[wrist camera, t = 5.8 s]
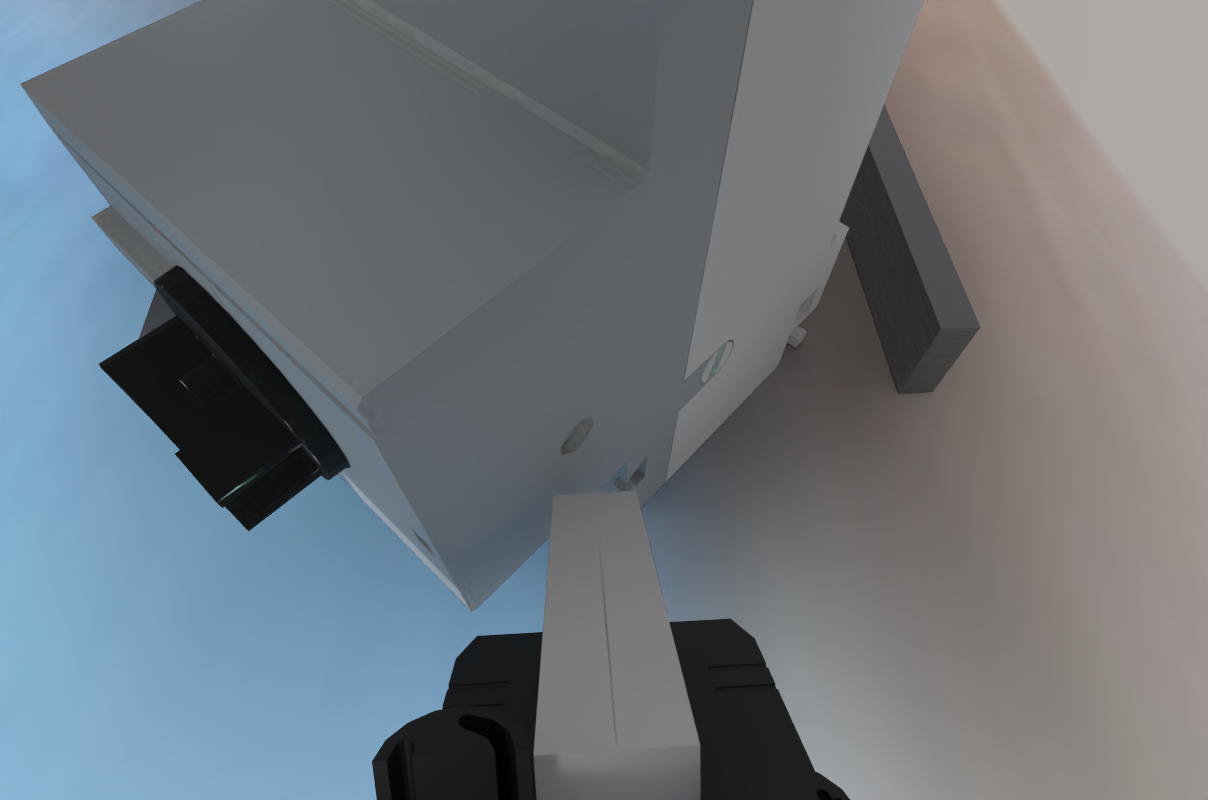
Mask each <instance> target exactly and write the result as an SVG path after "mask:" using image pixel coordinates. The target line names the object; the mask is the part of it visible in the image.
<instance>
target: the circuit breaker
mask: <svg viewBox="0 0 1208 800" xmlns="http://www.w3.org/2000/svg"><path fill="white" fill-rule="evenodd" d="M923 2H924V0H202V1H200V2H198V3H195V4H193V5H191V6H189V7H187V8H184V9H182V10H180V11H178V12H176V13H174V14H171V15H169V16H167V17H165V18H163V19H160V20H158V21H156V22H154V23H152V24H150V25H147V26H145V27H143V28H141V29H139V30H136V31H134V32H132V33H130V34H128V35H126V36H123V37H121V38H119V39H117V40H115V41H113V42H110V43H108V44H106V45H104V46H102V47H99V48H97V49H95V50H93V51H91V52H89V53H86V54H84V55H82V56H80V57H78V58H75V59H73V60H71V61H69V62H67V63H65V64H62V65H60V66H58V67H56V68H54V69H51V70H49V71H47V72H45V73H43V74H41V75H38V76H36V77H34V78H32V79H30V80H27V81H25V82H23V83H21V86H22V87H23V89H24V90H25V92H26V93H27V94H28V96H29V97H30V99H31V100H32V102H33V103H34V105H35V106H36V108H37V109H38V111H39V112H40V114H41V115H42V116H43V118H44V119H45V121H46V122H47V124H48V125H49V126H50V127H51V128H52V130H53V132H54V133H55V134H56V136H57V137H58V138H59V139H60V141H61V142H62V143H63V145H64V146H65V147H66V149H67V150H68V151H69V152H70V154H71V155H72V156H73V158H74V159H75V160H76V162H77V163H78V164H79V165H80V167H81V168H82V169H83V171H84V172H85V173H86V174H87V176H88V177H89V178H90V180H91V181H92V182H93V184H94V185H95V186H96V187H97V189H98V190H99V191H100V193H101V194H102V195H103V196H104V198H105V199H106V200H107V202H108V203H109V204H110V206H109V207H108V208H106V209H104V210H103V211H101V212H99V213H98V214H96V215H94V216H93V217H91V218H92V219H93V220H94V221H95V222H96V224H97V225H98V226H99V227H100V228H101V230H102V231H103V232H104V233H105V234H106V236H107V237H108V238H109V239H110V240H111V242H112V243H113V244H114V245H115V246H116V248H117V249H118V250H119V251H120V252H121V253H122V254H123V255H124V256H125V257H126V258H127V259H128V260H129V261H130V262H131V263H132V264H133V265H134V266H135V267H136V268H137V270H138V271H139V272H140V273H141V274H142V275H143V276H144V277H145V278H146V279H147V280H148V281H149V282H150V283H151V284H152V285H153V286H154V287H155V288H156V289H157V291H158V292H159V293H160V295H161V296H162V298H163V299H164V301H165V302H166V303H167V305H168V306H169V307H170V309H171V310H172V311H173V313H174V314H175V315H176V316H175V317H173V318H172V319H170V320H168V321H167V322H165V323H164V324H162V325H160V326H159V327H157V328H156V329H154V330H152V331H151V332H149V333H148V334H146V335H144V336H143V337H141V338H140V339H138V340H136V341H135V342H133V343H132V344H130V345H128V346H127V347H125V348H124V349H122V350H120V351H119V352H117V353H116V354H114V355H112V356H111V357H109V358H108V359H106V360H104V361H103V362H101V363H100V364H99V365H100V367H101V368H102V369H103V370H104V371H105V372H106V373H107V374H108V375H109V376H110V377H111V379H112V380H113V381H114V382H115V383H116V384H117V385H118V386H119V387H120V388H121V389H122V390H123V391H124V392H125V393H126V394H127V395H128V396H129V397H130V398H131V399H132V400H133V401H134V402H135V403H136V404H137V405H138V406H139V407H140V408H141V409H142V410H143V411H144V412H145V413H146V414H147V415H148V416H149V417H150V418H151V419H152V420H153V421H154V423H155V424H156V425H157V426H158V427H159V428H160V429H161V430H162V431H163V432H164V433H165V434H166V435H167V436H168V437H169V439H170V440H171V441H172V442H173V443H174V444H175V445H176V446H177V447H178V448H179V449H180V451H178V452H177V453H175V455H176V456H177V457H178V458H179V459H180V461H181V462H182V463H183V464H184V465H185V466H186V468H187V469H188V470H189V471H190V472H191V473H192V475H193V476H194V477H195V478H196V479H197V480H198V481H199V483H200V484H201V485H202V486H203V487H204V488H205V490H206V491H207V492H208V493H209V494H210V495H211V497H212V498H213V499H214V500H215V501H216V502H217V503H218V504H219V505H220V506H221V507H222V508H223V507H224V506H225V507H226V508H227V509H228V510H229V511H230V512H231V513H232V514H233V515H234V516H235V517H236V518H237V520H238V521H239V522H240V523H241V524H242V525H243V526H244V527H245V528H246V529H247V530H248V531H250V530H251V529H252V528H254V527H255V526H256V525H257V524H259V523H260V522H261V521H263V520H264V519H265V518H266V517H268V516H269V515H270V514H272V513H273V512H274V511H276V510H277V509H278V508H279V507H281V506H282V505H283V504H285V503H286V502H287V501H289V500H290V499H291V498H292V497H294V496H295V495H296V494H298V493H299V492H300V491H301V490H303V489H304V488H305V487H307V486H308V485H309V484H311V483H312V482H313V481H314V480H316V479H317V478H318V477H320V476H321V475H322V476H323V477H324V478H325V479H327V480H330V479H331V478H333V477H334V476H336V475H337V474H338V475H339V476H341V477H342V478H343V479H344V481H345V482H346V483H347V484H348V485H349V486H350V487H351V488H352V489H353V490H354V491H355V492H356V494H357V495H358V496H359V497H360V498H361V499H362V500H363V501H364V502H365V503H366V504H367V505H368V506H369V507H370V508H371V509H372V510H373V512H374V513H375V514H376V515H377V516H378V517H379V518H380V519H381V520H382V521H383V522H384V523H385V524H386V525H387V526H388V527H389V528H390V529H391V530H392V531H393V532H394V533H395V534H396V535H397V536H398V537H399V538H400V539H401V540H402V541H403V542H404V543H405V544H406V545H407V546H408V547H409V548H410V549H411V550H412V552H413V553H414V554H415V555H416V556H417V557H418V558H419V559H420V560H421V561H422V562H423V563H424V564H425V565H426V566H427V567H428V568H429V569H430V570H431V571H432V572H433V573H434V574H435V575H436V576H437V577H438V578H439V579H440V580H441V581H442V582H443V583H444V584H445V585H446V586H447V587H448V588H449V589H450V590H451V592H452V593H453V594H454V595H455V596H456V597H457V598H458V599H459V600H460V601H461V602H462V603H463V604H464V605H465V606H466V607H467V608H468V609H469V610H470V611H471V612H472V611H474V610H476V609H477V608H478V607H479V606H480V605H481V604H482V603H483V602H484V601H485V600H486V599H487V598H488V597H489V596H490V595H491V594H492V593H493V592H494V591H495V590H496V589H497V588H498V587H499V586H501V585H502V584H503V583H504V582H505V581H506V580H507V579H508V578H509V577H510V576H511V575H512V574H513V573H514V572H515V571H516V570H517V569H518V568H519V567H520V566H521V565H522V564H523V563H524V562H525V561H526V560H527V559H528V558H529V557H530V556H531V555H532V554H533V553H534V552H535V551H536V550H537V549H538V548H539V547H540V546H541V545H542V544H543V543H544V542H545V541H546V540H547V539H548V538H550V533H551V520H552V507H553V495H564V494H584V493H603V492H623V491H636V492H637V496H638V500H639V504H640V508H641V507H642V506H643V505H644V504H645V503H646V502H647V501H648V500H649V499H650V498H651V497H652V496H653V495H654V494H655V493H656V492H657V491H658V490H659V489H660V488H661V487H662V486H663V485H664V484H665V482H667V481H668V480H669V479H670V477H671V476H672V475H673V474H674V473H675V472H676V471H677V470H678V469H679V468H680V467H681V466H682V465H683V464H684V463H685V462H686V461H687V460H688V459H689V458H690V457H691V456H692V455H693V454H694V453H695V452H696V451H697V449H698V448H699V447H700V446H701V445H702V444H703V443H704V442H705V441H706V440H707V439H708V438H709V437H710V436H711V435H712V434H713V433H714V432H715V431H716V430H717V429H718V428H719V427H720V426H721V425H722V424H723V423H724V422H725V420H726V419H727V418H728V417H729V416H730V415H731V414H732V413H733V412H734V411H735V410H736V409H737V408H738V407H739V406H740V405H741V404H742V403H743V402H744V401H745V400H746V399H747V398H748V397H749V396H750V395H751V394H752V392H753V391H754V390H755V389H756V388H757V387H758V386H759V385H760V384H761V383H762V382H763V381H764V380H765V379H766V378H767V377H768V376H769V375H770V374H771V373H772V372H773V371H774V370H775V369H776V368H777V367H778V365H779V362H780V360H781V357H782V354H783V352H784V349H785V346H786V344H787V342H788V343H789V344H791V345H792V346H794V347H795V348H796V347H797V346H798V345H799V344H800V343H801V342H802V341H803V340H804V338H805V335H806V333H807V331H805V330H804V329H802V328H801V327H799V326H798V325H799V324H800V323H801V322H802V321H803V320H804V319H805V318H806V317H807V316H808V315H809V314H810V313H811V312H812V311H813V310H814V309H815V308H816V307H817V306H818V303H819V301H820V298H821V296H822V293H823V291H824V288H825V286H826V284H827V281H828V279H829V276H830V274H831V271H832V269H833V266H834V264H835V261H836V259H837V257H838V254H839V252H840V249H841V247H842V244H843V242H844V239H845V237H846V234H847V232H848V229H849V227H848V226H846V225H844V224H842V223H841V222H839V220H840V217H841V214H842V212H843V209H844V207H845V204H846V201H847V199H848V196H849V194H850V191H851V188H852V186H853V183H854V181H855V178H856V176H857V173H858V170H859V168H860V165H861V163H862V160H863V157H864V155H865V152H866V150H867V147H868V144H869V142H870V139H871V137H872V134H873V131H874V129H875V126H876V124H877V121H878V118H879V116H880V113H881V111H882V108H883V106H884V103H885V100H886V98H887V95H888V93H889V90H890V87H891V85H892V82H893V80H894V77H895V74H896V72H897V69H898V67H899V64H900V61H901V59H902V56H903V54H904V51H905V48H906V46H907V43H908V41H909V38H910V36H911V33H912V30H913V28H914V25H915V23H916V20H917V17H918V15H919V12H920V10H921V7H922V4H923Z"/></svg>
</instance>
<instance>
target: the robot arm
mask: <svg viewBox="0 0 1208 800" xmlns="http://www.w3.org/2000/svg"><path fill="white" fill-rule="evenodd" d="M372 765H373V773H374V780H375V788H376V796H377V800H850V799H849V798H848V797H847V795H846V794H845V793H844V791H843V790H842V789H841V788H840V787H838V786H837V785H835V784H834V783H832V782H831V781H830V780H828V779H827V778H825V777H824V776H822V775H821V774H819V773H817V772H815V770H814V768H813V766H812V764H811V761H810V759H809V757H808V755H807V753H806V750H805V748H804V746H803V744H802V742H801V739H800V737H799V735H798V733H797V731H796V728H795V726H794V724H793V722H792V720H791V717H790V715H789V713H788V711H787V709H786V706H785V704H784V702H783V700H782V698H781V695H780V693H779V691H778V689H776V687H775V682H774V680H773V678H772V676H771V673H770V671H769V669H768V668H766V662H765V660H764V658H763V656H762V654H761V651H760V649H759V647H758V645H757V643H756V640H755V638H753V637H752V636H751V635H750V634H749V633H747V632H746V631H745V630H744V629H742V628H741V627H740V626H739V625H738V624H736V623H735V622H734V621H733V620H731V619H718V620H700V621H683V622H669V619H668V615H667V611H666V607H665V603H664V599H663V595H662V591H661V587H660V583H659V579H658V575H657V571H656V567H655V563H654V559H653V555H652V551H651V548H650V544H649V540H648V536H647V532H646V528H645V524H644V520H643V516H642V512H641V508H640V504H639V500H638V496H637V492H636V491H623V492H603V493H584V494H564V495H553V507H552V520H551V533H550V546H549V559H548V572H547V585H546V598H545V611H544V624H543V632H538V633H521V634H504V635H486V636H477V637H476V638H475V639H474V640H473V641H472V642H471V643H470V644H469V645H468V646H467V647H466V648H465V650H464V651H463V652H462V653H461V654H460V655H459V656H458V657H457V658H456V660H455V664H454V668H453V671H452V675H451V678H450V682H449V690H447V693H446V696H445V700H444V703H443V710H438V711H434V712H431V713H429V714H427V715H424V716H422V717H420V718H418V719H415V720H413V721H411V722H409V723H407V724H406V725H404V726H403V727H402V728H401V729H399V730H398V731H397V732H396V733H394V734H393V735H392V736H390V737H389V738H388V739H387V740H386V741H385V742H384V744H383V745H382V747H381V748H380V750H379V751H378V753H377V755H376V756H375V758H374V759H373V761H372Z"/></svg>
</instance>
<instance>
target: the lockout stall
mask: <svg viewBox="0 0 1208 800" xmlns="http://www.w3.org/2000/svg"><path fill="white" fill-rule="evenodd" d="M840 220H841V223H842V224H844V225H846V226H848V227H849V229H848V232H847V234H846V237H847V240H848V243H849V246H850V249H851V252H852V255H853V258H854V261H855V264H856V267H857V270H858V273H859V276H860V279H861V282H862V285H863V288H864V291H865V294H866V297H867V300H868V303H869V306H870V309H871V312H872V315H873V318H874V321H875V324H876V327H877V330H878V333H879V336H880V339H881V342H882V345H883V348H884V351H885V354H886V357H887V360H888V363H889V366H890V369H891V372H892V375H893V378H894V381H895V384H896V387H897V390H898V393H913V392H933V390H934V389H935V388H936V386H937V385H938V384H939V382H940V381H941V380H942V378H943V377H944V376H945V374H946V373H947V372H948V370H949V369H950V367H951V366H952V365H953V363H954V362H955V361H956V359H957V358H958V357H959V355H960V354H961V353H962V351H963V350H964V349H965V347H966V346H967V345H968V343H969V342H970V341H971V339H972V338H973V337H974V335H975V334H976V332H977V331H978V330H979V328H980V326H979V323H978V321H977V319H976V316H975V314H974V312H973V309H972V307H971V305H970V303H969V300H968V298H967V296H966V293H965V291H964V289H963V286H962V284H961V282H960V279H959V277H958V275H957V272H956V270H955V268H954V266H953V263H952V261H951V259H950V256H949V254H948V252H947V249H946V247H945V245H944V242H943V240H942V238H941V235H940V233H939V231H938V228H937V226H936V224H935V222H934V219H933V217H932V215H931V212H930V210H929V208H928V205H927V203H926V201H925V198H924V196H923V194H922V191H921V189H920V187H919V184H918V182H917V180H916V178H915V175H914V173H913V171H912V168H911V166H910V164H909V161H908V159H907V157H906V154H905V152H904V150H903V147H902V145H901V143H900V140H899V138H898V136H897V134H896V131H895V129H894V127H893V124H892V122H891V120H890V117H889V115H888V113H887V110H886V108H885V106H883V108H882V111H881V113H880V116H879V118H878V121H877V124H876V126H875V129H874V131H873V134H872V137H871V139H870V142H869V144H868V147H867V150H866V152H865V155H864V157H863V160H862V163H861V165H860V168H859V170H858V173H857V176H856V178H855V181H854V183H853V186H852V188H851V191H850V194H849V196H848V199H847V201H846V204H845V207H844V209H843V212H842V214H841V217H840ZM175 316H176V315H175V314H174V313H173V311H172V310H171V309H170V307H169V306H168V305H167V303H166V302H165V301H164V299H163V298H162V296H161V295H160V293H159V292H158V291H157V289H156V292H155V295H154V298H153V301H152V303H151V306H150V309H149V312H148V315H147V317H146V320H145V323H144V326H143V329H142V331H141V334H140V337H139V339H140V338H141V337H143V336H144V335H146V334H148V333H149V332H151V331H152V330H154V329H156V328H157V327H159V326H160V325H162V324H164V323H165V322H167V321H168V320H170V319H172V318H173V317H175Z"/></svg>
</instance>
